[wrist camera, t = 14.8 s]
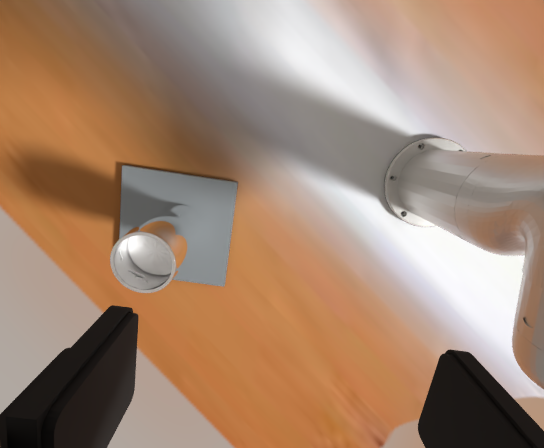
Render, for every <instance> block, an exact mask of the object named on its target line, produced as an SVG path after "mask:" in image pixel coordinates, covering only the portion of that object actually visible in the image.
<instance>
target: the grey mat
mask: <svg viewBox="0 0 544 448" xmlns="http://www.w3.org/2000/svg"><path fill="white" fill-rule="evenodd" d="M237 186H238V182H234V181H227V180H221V179H214V178H208V177H201V176H195V175H188V174H181V173H175V172H168V171H162V170H155V169H148V168H142V167H135V166H129V165H122V182H121V209H120V236H119V239H120V238H122V237H123V236H124V235H125V234H126V233H127V232H129V231H130V230H131V229H132V228H133V227H135V226H136V225H138V224H139V223H141V222H143V221H145V220H147V219H150V218H153V217H157V216H162V214H163V213H164V211H165V210H167V209H168V208H169V207H172V206H175V205H185V206H188V207H190V208H192V209H194V210H195V211H196V212H197V213H198V215H199V216H200V218H201V221H202V232H201V235H200V237H199V238H198V239H197V240H196V241H195V242H194V243H192V245H191V250H190V254H189V257H188V259H187V261H186V263H185V264H184V266H183V267H182V269H181V270H180V271H179V273H178V274H177V275H176V276H175V277H174V278H173V279H172V280H179V281H187V282H194V283H202V284H209V285H216V286H224V285H225V280H226V272H227V264H228V256H229V248H230V240H231V233H232V225H233V217H234V209H235V201H236V193H237Z"/></svg>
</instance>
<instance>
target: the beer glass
mask: <svg viewBox="0 0 544 448" xmlns="http://www.w3.org/2000/svg"><path fill="white" fill-rule="evenodd" d="M201 232H202V221H201V218H200V216H199V215H198V213H197V212H196V211H195V210H194V209H192V208H190V207H188V206H185V205H175V206H172V207H169V208H168V209H167V210H165V211H164V213H163V214H162V216H157V217H153V218H150V219H147V220H145V221H143V222H141V223H139V224H138V225H136V226H135V227H133V228H132V229H131V230H130V231H129V232H127V233H126V234H125V235H124V236H123V237H122V238H120V239H119V240H118V241H117V242H116V244H115V245H114V247H113V249H112V251H111V256H110V264H111V268H112V271H113V273H114V275H115V277H116V278H117V279H118V281H119V282H120V283H121V284H123V285H124V286H125V287H127V288H129V289H131V290H133V291H136V292H140V293H152V292H156V291H159V290H161V289H163V288H164V287H166V286H167V285H168V284H169V283H170V282H171V280H172V279H173V278H174V277H175V276H176V275H177V274H178V273H179V271H180V270H181V269H182V267H183V266H184V264H185V263H186V261H187V259H188V257H189V254H190V250H191V245H192V243H194V242H195V241H196V240H197V239H198V238H199V237H200V235H201Z"/></svg>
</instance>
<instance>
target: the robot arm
mask: <svg viewBox="0 0 544 448" xmlns="http://www.w3.org/2000/svg"><path fill="white" fill-rule="evenodd" d="M419 145H420V148H418V146H419ZM391 176H393V178H392V179H390V177H391ZM384 188H385V196H386V200H387V203H388V205H389V206H390V208H391V210H392V211H393V212H394V213H395V215H396V216H398V217H399V218H400V219H402V220H403V221H405V222H407V223H409V224H412V225H414V226H420V227H432V226H438V227H440V228H442V229H444V230H446V231H448V232H450V233H452V234H454V235H456V236H458V237H460V238H461V239H463V240H465V241H467V242H469V243H471V244H473V245H475V246H477V247H479V248H481V249H483V250H485V251H488V252H490V253H494V254H498V255H504V256H522V255H525V258H524V264H523V270H522V271H523V276H522V282H521V287H520V293H519V298H518V304H517V309H516V315H515V320H514V321H515V322H514V327H513V336H512V347H513V353H514V356H515V359H516V361H517V363H518V365H519V366H520V368H521V369H522V371H523V372H524V373H525V374H526V375H527V376H528V377H529V378H530V379H531V380H532V381H533V382H534V383H536V384H537V385H538V386H540V387H541V388H542V389H544V156H535V155H517V154H498V153H482V152H467V151H466V150H465V149H464V148H463V147H462V146H461V145H459V144H458V143H456V142H454V141H452V140H448V139H445V138H426V139H422V140H418V141H416V142H414V143H412V144H410V145H408V146H407V147H405V148H404V149H403V150H402V151H401V152H400V153H399V154H398V155H397V156H396V157H395V158H394V160H393V161H392V162H391V165H390V167H389V169H388V171H387V174H386V178H385V186H384ZM402 211H403V213H402V214H401V212H402ZM137 333H138V314H136V313H133V310H132V308H129V307H121V306H110V307H109V308H108V309H107V310H106V311H105V312H104V313H103V314H102V315H101V317H99V319H98V320H97V321H96V322H95V323H94V324H93V325H92V326H91V327H90V328H89V329H88V330H87V331H86V332H85V333H84V334H83V335H82V336H81V338H80V339H79V340H78V341H77V342H76V343H75V344H74V345H73V346H72V347H71V348H66V349H64V350H63V351H62V352H61V353H60V354H59V355H58V356H57V357H56V358H55V359H54V360H53V361H52V362H51V363H50V364H49V365H48V366H47V367H46V368H45V369H44V370H43V371H42V372H41V373H40V374H39V375H38V376H37V377H36V378H35V379H34V380H33V381H32V382H31V383H30V384H29V385H28V387H27V388H26V389H25V390H24V391H23V392H22V393H21V394H20V395H19V396H18V397H17V398H16V399H15V400H14V401H13V402H12V403H11V404H10V405H9V406H8V407H7V408H6V409H5V410H4V411H3V412H2V413H1V414H0V448H107V446H108V444H109V442H110V440H111V439H112V437H113V435H114V433H115V431H116V429H117V427H118V425H119V423H120V422H121V419H122V418H123V415H124V414H125V412H126V410H127V408H128V406H129V404H130V402H131V400H132V397H133V394H134V387H135V369H136V352H137ZM418 431H419V435H420V438H421V440H422V442H423V444H424V446H425V448H544V431H543V430H542V429H541V428H540V427H539V425H538V424H537V423H536V422H535V421H534V420H533V419H532V418H531V417H530V416H529V415H528V414H527V413H526V412H525V411H524V410H523V409H522V407H521V406H520V405H519V404H518V403H517V402H516V401H515V400H514V399H513V398H512V397H511V396H510V395H509V394H508V392H507V391H506V390H505V389H504V388H503V387H502V386H501V385H500V384H499V383H498V382H497V381H496V380H495V379H494V378H493V376H492V375H491V374H490V373H489V372H488V371H487V370H486V369H485V368H484V367H483V366H482V365H481V364H480V363H479V362H478V361H477V359H476V358H475V357H474V356H473V355H472V354H470V353H469V352H464V351H456V350H448V351H446V353H445V354H442V355H441V356H440V358H439V361H438V364H437V367H436V370H435V373H434V376H433V380H432V383H431V386H430V389H429V392H428V395H427V398H426V401H425V404H424V407H423V410H422V413H421V416H420V419H419V423H418Z"/></svg>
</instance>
